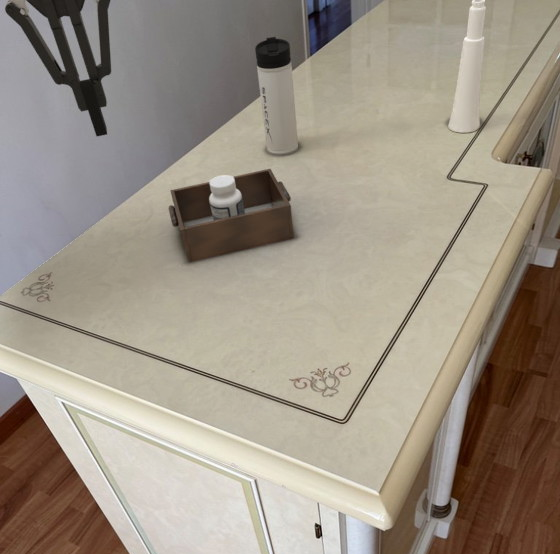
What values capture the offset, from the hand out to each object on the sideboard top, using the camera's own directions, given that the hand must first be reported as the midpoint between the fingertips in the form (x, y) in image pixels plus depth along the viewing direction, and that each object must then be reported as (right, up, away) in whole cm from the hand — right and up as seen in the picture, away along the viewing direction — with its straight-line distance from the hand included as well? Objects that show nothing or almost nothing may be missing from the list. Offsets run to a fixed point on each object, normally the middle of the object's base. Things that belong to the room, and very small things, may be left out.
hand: (101, 131), depth 82 cm
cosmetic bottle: (+62, +15, +36) cm, 73 cm away
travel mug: (+26, +11, +36) cm, 45 cm away
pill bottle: (+17, -10, +16) cm, 25 cm away
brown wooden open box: (+17, -10, +16) cm, 26 cm away
